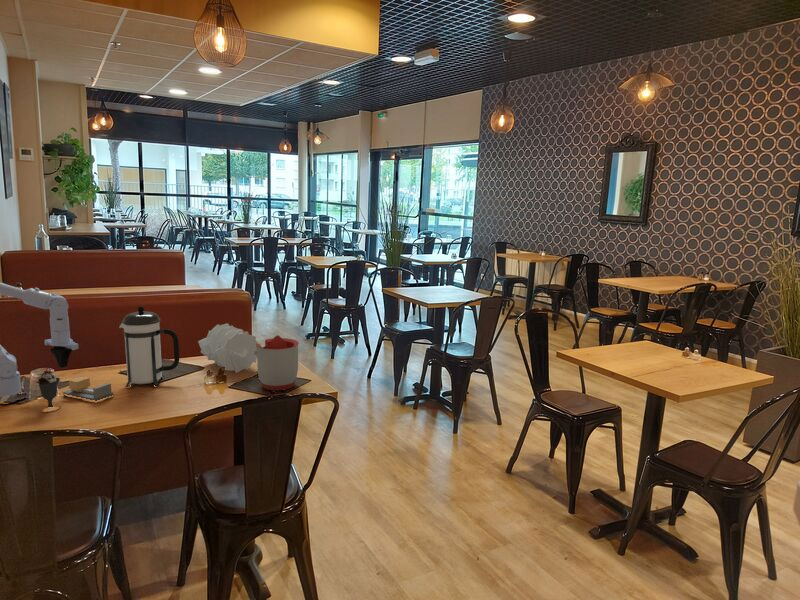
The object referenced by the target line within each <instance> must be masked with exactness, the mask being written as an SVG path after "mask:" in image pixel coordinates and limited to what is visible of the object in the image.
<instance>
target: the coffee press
mask: <svg viewBox="0 0 800 600" xmlns="http://www.w3.org/2000/svg"><path fill="white" fill-rule="evenodd" d="M160 322H161V317H159V315H158V314H157V313H156V312H152V311H145V308H144V306H143V305H139V306H138V307H137V311H135V312H134V311H133V312H130V313H127V314H126V315H125V316H124V318H123V319H122V322H121V323H120V325H119V329H121V328H122V329H123V336H124V345H125V346H124V347H125V358H126V374H127V375H126V376H127V380H128V381H127V382H126V384H125V388H126V387H129V386H130V385H131V386H132V387H134V385H147V384H151V385H152V386H153V387H154V385H155V386H158V387H159V386H160V385H159V381H160V380H162V379H161V377H162V376H163V377H164V375H163V372H164V371H167V372H168V371H171V370H173V369H175V368H176V369H177V366H178V365H179V363H180V345H179V343H180V342H179V341H180V340H179V337H178V334H177V333H176V332H175V330H172V329H169V328H164V329H161V327H160ZM161 334H165V335H170V337H171V338H172V342H173V356H174V357H173V358H174V360H173V363H172V364H171V365H163V364H162V348H161ZM164 378H165V377H164Z"/></svg>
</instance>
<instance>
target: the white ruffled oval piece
mask: <svg viewBox="0 0 800 600" xmlns="http://www.w3.org/2000/svg"><path fill="white" fill-rule="evenodd" d="M197 342H198V345H199V347H200V353H201V354H203V356H205V357H206V358H207V361H213V362H214V363H213V364H216V365H217V366H218V367H222V368H224V370H225V371H232V372H234V371H235V373H236V374H237V373H239V372H241V371H243V370H246V371H248V370H249V369H250V367H251V366H252V364H253V363H256V364H257V354H256V355H254V352H255V351H257V346H256V344H257V343H258V344H259V342H258V341H257V336H255V335H251V334H249V331H244V330H243V329H242V328H237V327H234V325H230V324H229V323H224V324H219V323H218V324H216V325H215V326H214V327H213V328H212V329H211V330H210V329H208V333H207V336H206V337H205V338H202V339H200V340H198V341H197Z"/></svg>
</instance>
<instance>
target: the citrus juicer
mask: <svg viewBox="0 0 800 600" xmlns="http://www.w3.org/2000/svg"><path fill="white" fill-rule="evenodd" d="M299 344H300V343H299V341H298V340H296V339H292V338H286V337H285V338H283V337H281V336H280V335H278V334H277V335H274V337H273V338H268V339H265V341H264V346H262V344H259V342H258V343H257V344H256V346H257V351H255V352H254V355H256V354H257V359H256V365H257V374H258V378H259V381H260V384H261V386H262V388H263V389H265V390H269V391H279V390H283V391H284V390H288V389H291V388H293V387H294V385H295V383H296V380H297V377H298V371H299Z"/></svg>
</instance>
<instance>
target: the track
mask: <svg viewBox="0 0 800 600" xmlns="http://www.w3.org/2000/svg"><path fill="white" fill-rule="evenodd" d="M62 394H67V395H72V396H76V397H81V398H86V399H90V400H95V401H97V400H100V399H103V398H106V397H109V396H112V395H115V394H114V392H112V383H111V382H110V383H109V382H108V383H103V384H101V385H98V386H95V387H92V388H91V387H88V389H86V388H83V389H82V392H76V391H72V389H68V390H66V391H63V392H62Z"/></svg>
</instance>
